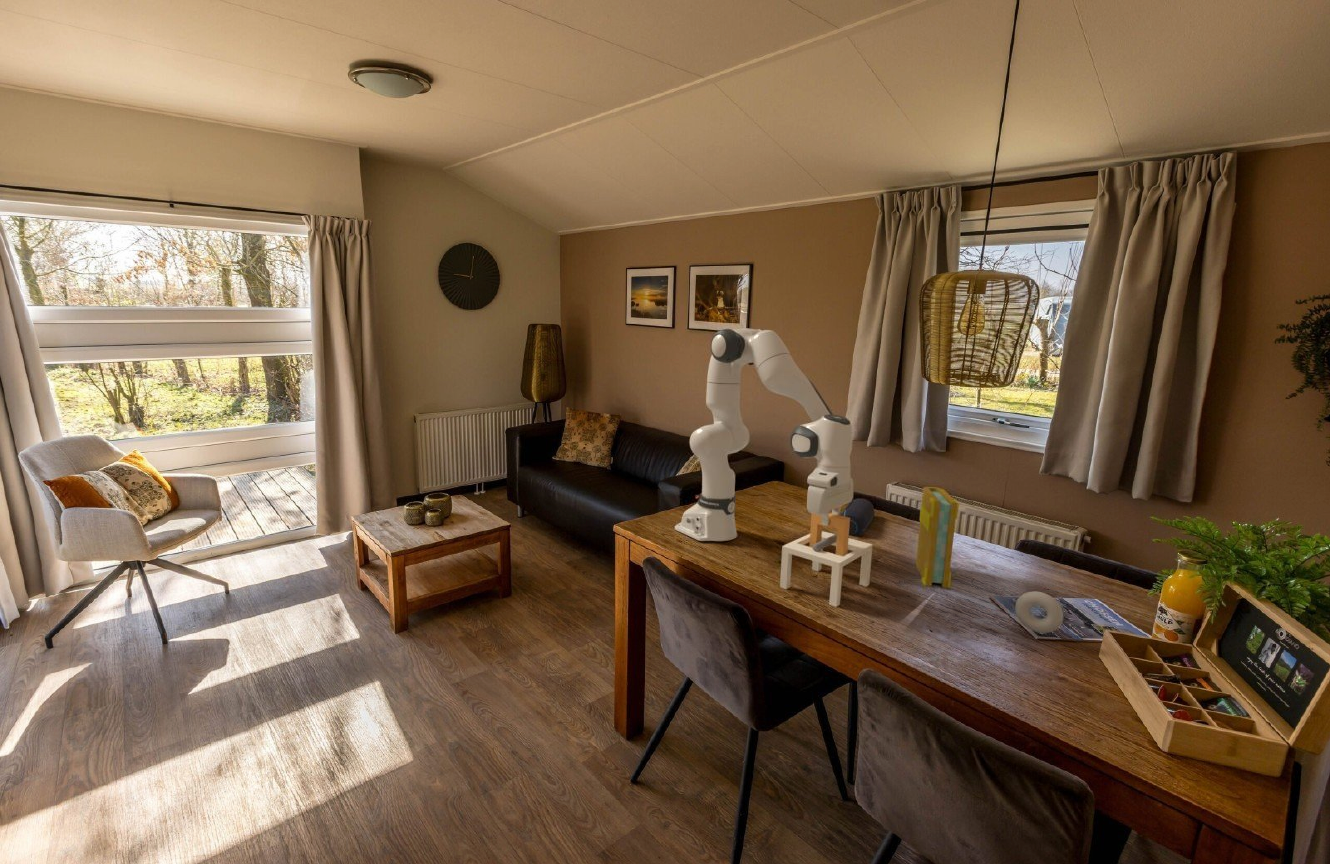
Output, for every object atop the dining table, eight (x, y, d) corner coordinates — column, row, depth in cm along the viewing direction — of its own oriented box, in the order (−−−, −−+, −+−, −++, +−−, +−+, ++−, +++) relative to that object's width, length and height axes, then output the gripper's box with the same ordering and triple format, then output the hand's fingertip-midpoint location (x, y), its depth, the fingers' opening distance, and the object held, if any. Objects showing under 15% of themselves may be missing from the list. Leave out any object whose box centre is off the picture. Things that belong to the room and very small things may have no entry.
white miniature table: (779, 587, 166) (782, 539, 163) (815, 567, 180) (818, 523, 178) (836, 606, 154) (840, 555, 152) (869, 584, 169) (873, 537, 167)
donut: (1061, 635, 142) (1067, 596, 140) (1059, 641, 139) (1064, 601, 138) (1014, 621, 149) (1019, 584, 147) (1011, 626, 146) (1016, 588, 144)
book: (949, 588, 168) (959, 502, 164) (924, 585, 169) (933, 500, 165) (935, 565, 184) (943, 487, 180) (912, 563, 186) (920, 486, 182)
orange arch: (808, 556, 168) (811, 512, 166) (814, 553, 170) (816, 510, 168) (841, 566, 161) (844, 520, 159) (846, 563, 164) (850, 517, 162)
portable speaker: (848, 519, 230) (850, 494, 229) (875, 523, 226) (877, 498, 224) (834, 537, 208) (836, 510, 207) (863, 542, 204) (866, 515, 202)
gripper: (839, 467, 172) (836, 513, 174) (804, 478, 157) (801, 528, 159) (860, 470, 167) (857, 518, 170) (825, 482, 153) (822, 534, 155)
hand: (829, 523), depth 164 cm, fingers closed on orange arch, 3 cm apart
